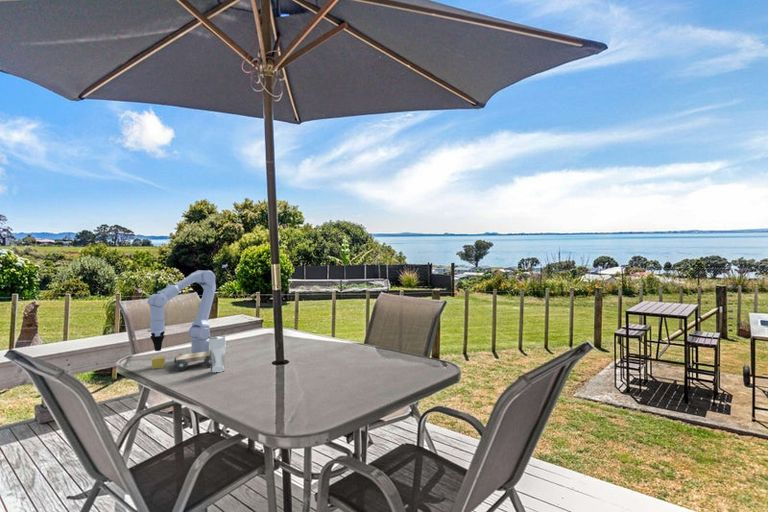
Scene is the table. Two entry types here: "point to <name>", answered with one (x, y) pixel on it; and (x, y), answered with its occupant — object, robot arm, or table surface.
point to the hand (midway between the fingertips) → (158, 349)
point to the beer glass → (217, 353)
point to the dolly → (191, 359)
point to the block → (158, 362)
